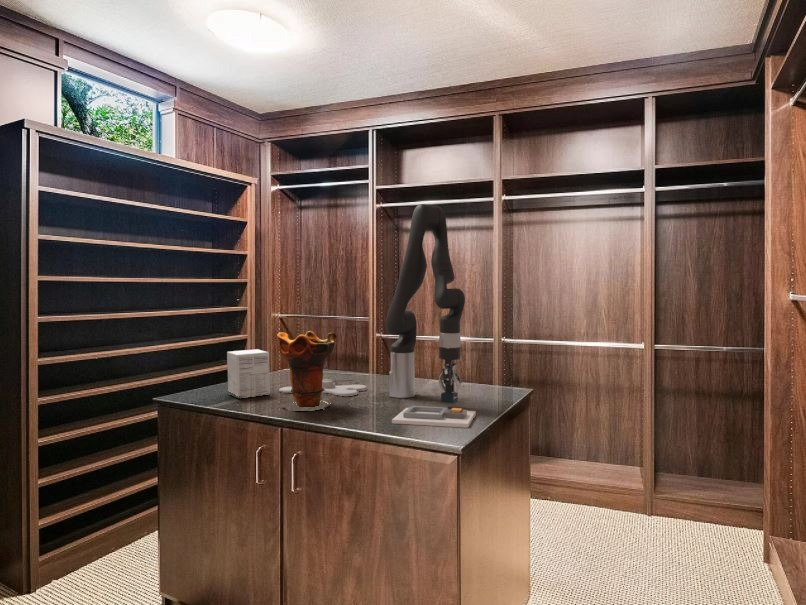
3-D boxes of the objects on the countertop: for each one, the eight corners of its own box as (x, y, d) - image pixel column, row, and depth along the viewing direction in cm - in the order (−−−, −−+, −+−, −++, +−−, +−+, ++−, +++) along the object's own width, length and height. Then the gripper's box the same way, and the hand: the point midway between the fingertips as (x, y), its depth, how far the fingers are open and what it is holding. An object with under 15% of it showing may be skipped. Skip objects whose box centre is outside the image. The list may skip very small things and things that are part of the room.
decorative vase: (348, 399, 211) (345, 325, 208) (319, 417, 189) (315, 335, 187) (300, 396, 218) (296, 325, 215) (266, 413, 196) (261, 334, 194)
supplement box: (270, 395, 223) (269, 351, 222) (237, 400, 215) (236, 354, 214) (259, 390, 234) (258, 348, 233) (227, 394, 226) (226, 351, 225)
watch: (458, 403, 193) (459, 371, 193) (436, 401, 196) (437, 370, 196) (462, 401, 198) (463, 370, 198) (441, 399, 201) (442, 369, 201)
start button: (450, 416, 178) (450, 410, 178) (452, 414, 181) (452, 407, 181) (460, 416, 178) (460, 410, 178) (461, 414, 180) (461, 408, 180)
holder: (352, 398, 217) (352, 386, 216) (274, 394, 227) (274, 382, 227) (370, 389, 235) (369, 377, 235) (297, 386, 245) (297, 374, 245)
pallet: (392, 423, 176) (391, 414, 176) (406, 411, 193) (406, 403, 193) (467, 427, 170) (467, 418, 170) (475, 414, 186) (475, 406, 186)
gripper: (443, 342, 204) (443, 389, 205) (434, 347, 191) (434, 397, 191) (463, 343, 202) (463, 390, 203) (456, 348, 189) (456, 399, 189)
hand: (449, 393), depth 197 cm, fingers closed on watch, 3 cm apart
